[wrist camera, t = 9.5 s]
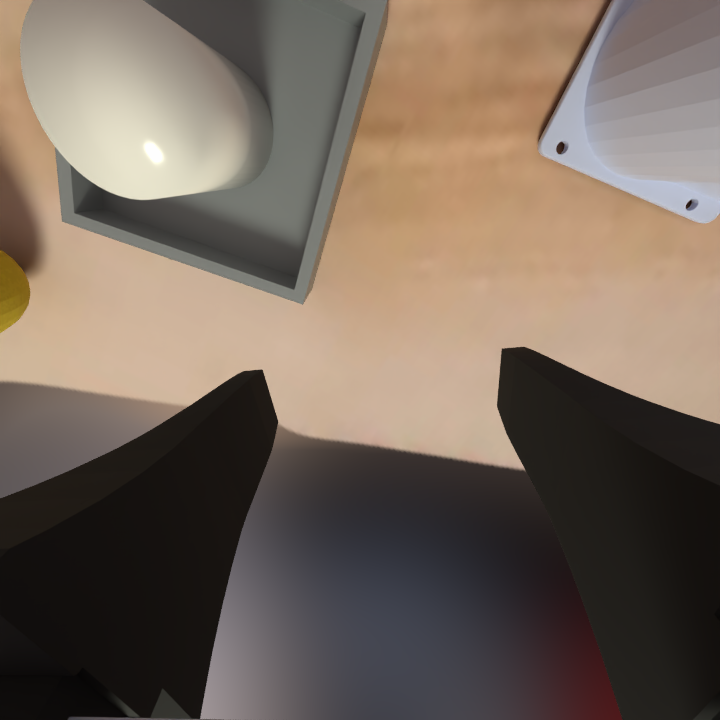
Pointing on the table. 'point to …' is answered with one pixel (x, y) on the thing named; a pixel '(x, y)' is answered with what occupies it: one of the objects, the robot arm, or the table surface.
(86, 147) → the capsule
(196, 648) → the robot arm
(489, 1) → the table surface
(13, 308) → the lemon
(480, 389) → the table surface
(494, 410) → the table surface
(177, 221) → the tray
